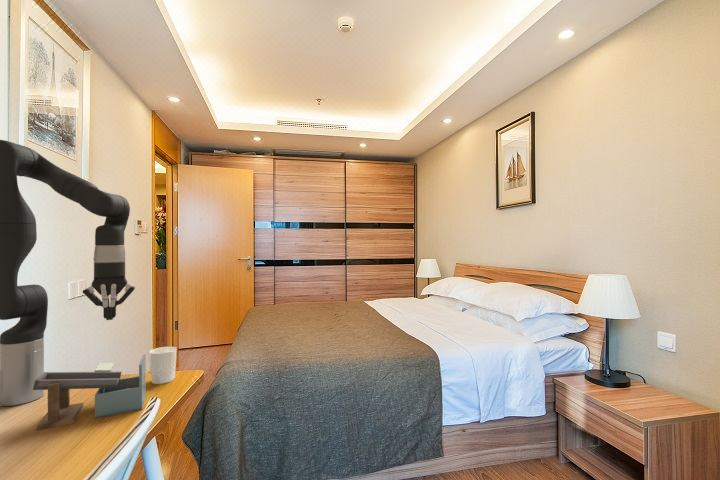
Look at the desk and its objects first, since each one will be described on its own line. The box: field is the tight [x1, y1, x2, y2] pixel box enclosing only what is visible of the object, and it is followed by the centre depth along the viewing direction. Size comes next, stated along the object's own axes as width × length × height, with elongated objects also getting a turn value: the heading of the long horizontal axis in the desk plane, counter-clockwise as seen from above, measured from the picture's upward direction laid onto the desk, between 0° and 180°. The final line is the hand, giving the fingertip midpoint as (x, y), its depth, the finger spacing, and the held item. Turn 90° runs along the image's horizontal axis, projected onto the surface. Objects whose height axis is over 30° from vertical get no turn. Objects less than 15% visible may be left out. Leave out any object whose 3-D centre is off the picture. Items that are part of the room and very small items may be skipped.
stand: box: [36, 383, 85, 431], centre depth 89 cm, size 7×10×10 cm
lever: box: [33, 362, 122, 391], centre depth 94 cm, size 17×14×3 cm
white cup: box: [148, 345, 178, 385], centre depth 113 cm, size 8×8×10 cm
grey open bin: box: [94, 354, 147, 419], centre depth 95 cm, size 10×10×12 cm
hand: (109, 319), depth 101 cm, fingers closed
